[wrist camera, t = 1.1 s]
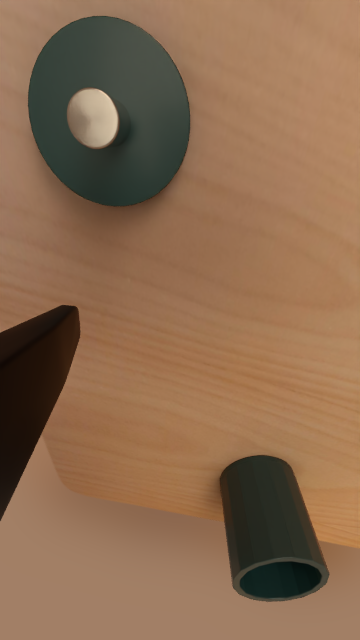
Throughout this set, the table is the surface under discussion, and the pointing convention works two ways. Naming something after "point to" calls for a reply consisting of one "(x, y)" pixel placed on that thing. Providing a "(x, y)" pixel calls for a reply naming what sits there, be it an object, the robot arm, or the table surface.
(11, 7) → the table surface
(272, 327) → the table surface
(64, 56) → the tin lid
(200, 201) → the table surface
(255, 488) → the tin
